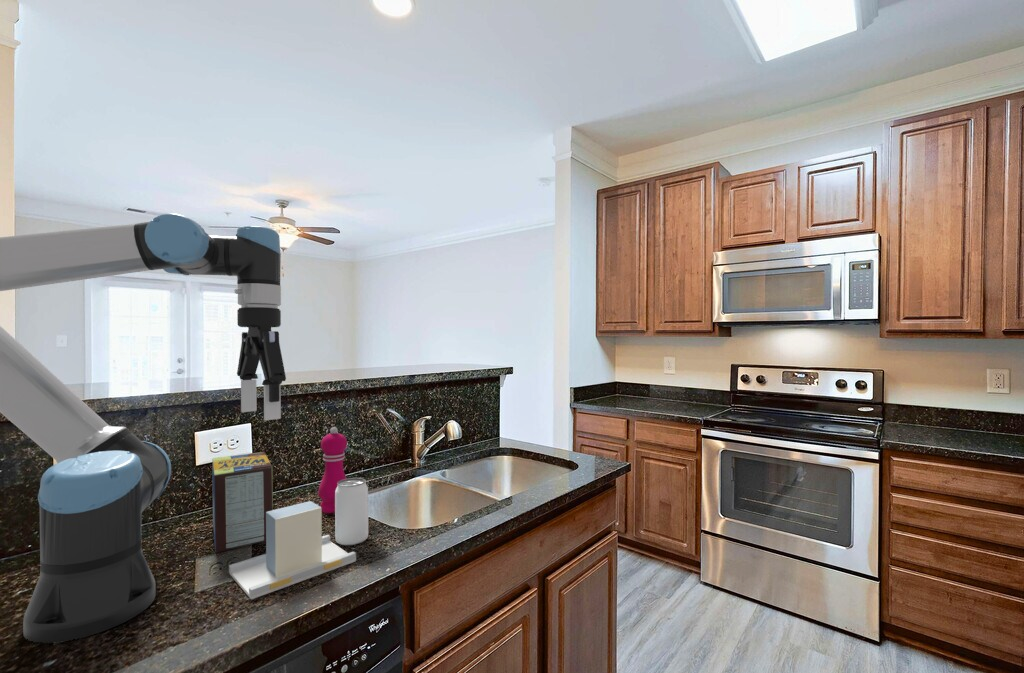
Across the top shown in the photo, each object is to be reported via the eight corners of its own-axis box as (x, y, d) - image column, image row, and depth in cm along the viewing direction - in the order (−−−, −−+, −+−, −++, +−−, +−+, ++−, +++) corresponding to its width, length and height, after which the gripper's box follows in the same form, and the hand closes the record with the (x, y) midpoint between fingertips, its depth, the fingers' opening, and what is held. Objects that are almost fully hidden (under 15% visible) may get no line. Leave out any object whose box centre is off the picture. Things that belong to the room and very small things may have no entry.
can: (358, 547, 95) (357, 487, 95) (328, 545, 96) (328, 485, 96) (374, 534, 101) (373, 478, 101) (346, 532, 102) (345, 476, 102)
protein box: (265, 517, 111) (264, 451, 111) (273, 540, 98) (273, 465, 98) (212, 527, 105) (211, 457, 105) (213, 553, 92) (213, 474, 92)
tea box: (275, 577, 82) (275, 519, 82) (266, 567, 86) (265, 511, 86) (321, 561, 88) (321, 507, 88) (310, 552, 91) (310, 500, 91)
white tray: (251, 600, 76) (251, 590, 76) (229, 573, 85) (229, 565, 85) (356, 561, 89) (356, 553, 89) (327, 541, 97) (327, 534, 97)
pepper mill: (313, 508, 116) (313, 426, 116) (342, 501, 121) (342, 423, 121) (325, 516, 111) (324, 431, 111) (354, 508, 116) (354, 427, 116)
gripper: (219, 309, 99) (220, 410, 99) (260, 303, 82) (261, 426, 82) (258, 310, 105) (259, 406, 105) (304, 304, 87) (305, 420, 87)
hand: (260, 415), depth 93 cm, fingers open, 13 cm apart
